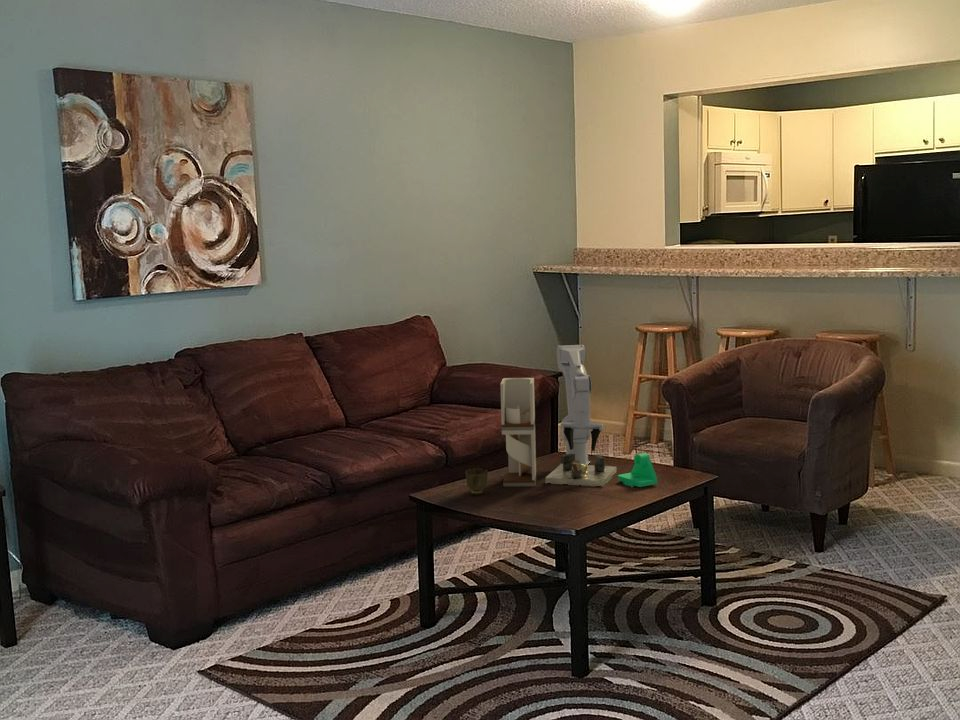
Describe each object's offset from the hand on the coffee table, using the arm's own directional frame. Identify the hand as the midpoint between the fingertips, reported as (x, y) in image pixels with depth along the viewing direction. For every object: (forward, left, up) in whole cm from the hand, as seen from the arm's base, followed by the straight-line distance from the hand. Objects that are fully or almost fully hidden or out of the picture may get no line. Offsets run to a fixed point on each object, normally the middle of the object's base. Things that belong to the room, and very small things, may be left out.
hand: (582, 449), depth 366 cm
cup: (+30, -28, -10) cm, 42 cm away
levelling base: (+2, 0, -9) cm, 10 cm away
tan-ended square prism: (+8, 0, -7) cm, 11 cm away
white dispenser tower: (+12, -19, -10) cm, 24 cm away
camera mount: (+6, +20, -10) cm, 23 cm away
